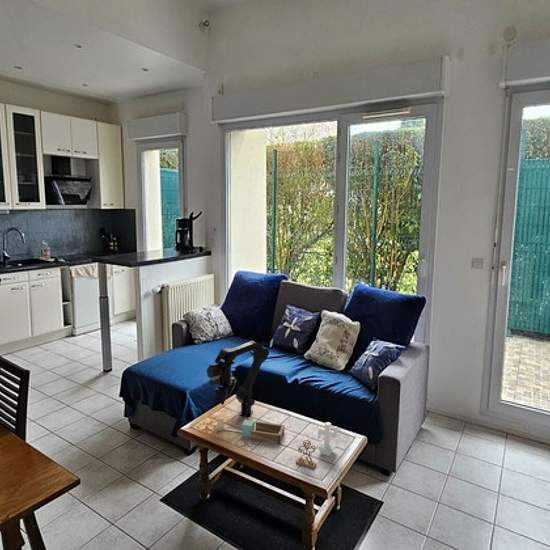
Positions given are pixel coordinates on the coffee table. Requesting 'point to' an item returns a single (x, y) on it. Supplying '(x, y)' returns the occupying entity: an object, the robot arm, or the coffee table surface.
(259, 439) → the open wooden tray
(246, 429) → the block with cord
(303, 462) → the wire sculpture
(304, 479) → the coffee table surface
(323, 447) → the figurine
